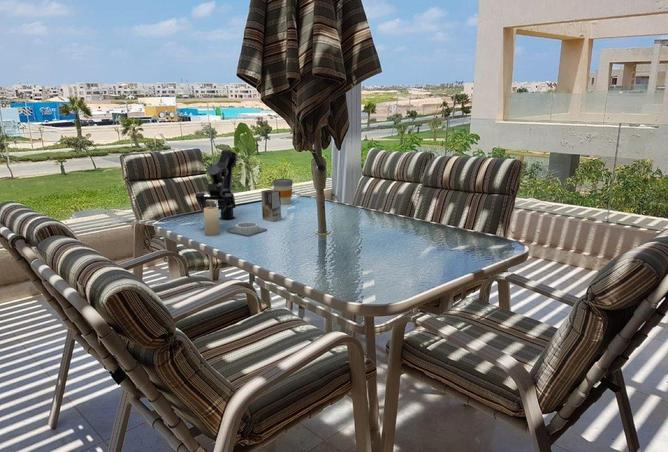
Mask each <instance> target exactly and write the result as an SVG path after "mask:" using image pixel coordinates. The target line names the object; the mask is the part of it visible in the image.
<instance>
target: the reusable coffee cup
mask: <svg viewBox="0 0 668 452" xmlns="http://www.w3.org/2000/svg"><path fill="white" fill-rule="evenodd" d="M272 186H273V189H272V190H275V191H280V201H281V206H288V205H290V204H291V198H292V193H293V179H289V178H277V179H273V180H272Z"/></svg>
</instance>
